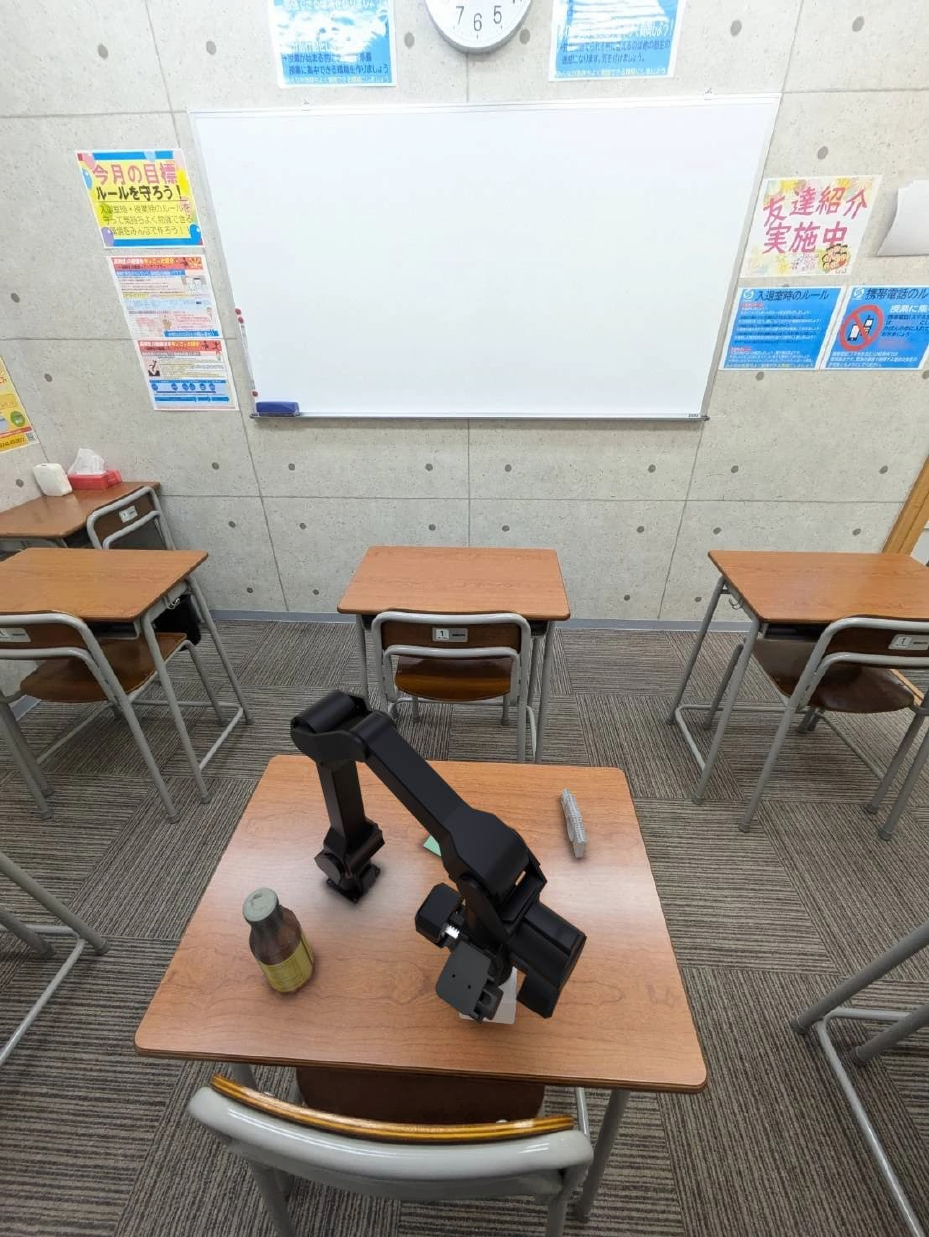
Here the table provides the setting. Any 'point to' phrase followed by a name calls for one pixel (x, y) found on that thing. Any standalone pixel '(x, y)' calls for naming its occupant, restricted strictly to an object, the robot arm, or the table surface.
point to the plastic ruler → (432, 846)
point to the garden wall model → (574, 822)
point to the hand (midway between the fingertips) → (488, 974)
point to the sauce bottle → (278, 942)
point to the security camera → (505, 997)
